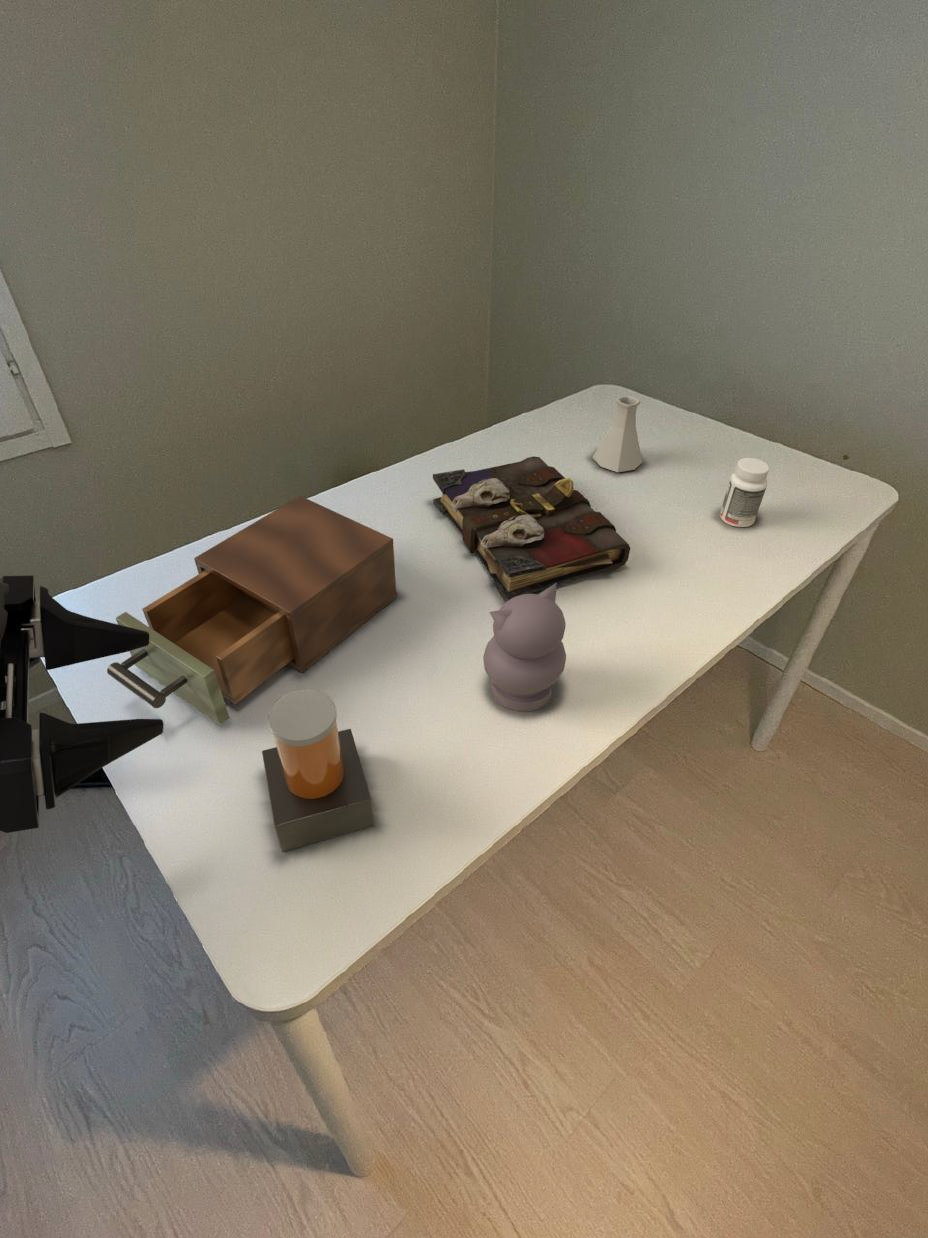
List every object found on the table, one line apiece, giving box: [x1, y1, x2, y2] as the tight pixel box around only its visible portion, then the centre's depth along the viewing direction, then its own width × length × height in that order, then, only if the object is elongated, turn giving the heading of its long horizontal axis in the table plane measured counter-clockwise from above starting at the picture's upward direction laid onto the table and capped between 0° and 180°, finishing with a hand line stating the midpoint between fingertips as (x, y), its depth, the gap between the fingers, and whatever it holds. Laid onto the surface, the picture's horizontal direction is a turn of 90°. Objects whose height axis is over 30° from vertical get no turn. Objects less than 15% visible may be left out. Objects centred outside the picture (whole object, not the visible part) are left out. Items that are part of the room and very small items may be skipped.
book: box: [432, 455, 631, 603], centre depth 92 cm, size 26×18×7 cm
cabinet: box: [193, 495, 397, 674], centre depth 80 cm, size 16×15×9 cm
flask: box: [592, 395, 643, 473], centre depth 106 cm, size 7×7×10 cm
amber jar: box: [267, 688, 344, 799], centre depth 58 cm, size 5×5×8 cm
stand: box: [261, 728, 375, 853], centre depth 62 cm, size 8×8×4 cm
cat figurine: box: [482, 583, 567, 713], centre depth 70 cm, size 9×8×12 cm
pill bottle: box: [719, 457, 770, 528], centre depth 95 cm, size 5×5×8 cm
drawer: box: [106, 570, 295, 726], centre depth 72 cm, size 18×13×7 cm
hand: (155, 679), depth 50 cm, fingers open, 9 cm apart
